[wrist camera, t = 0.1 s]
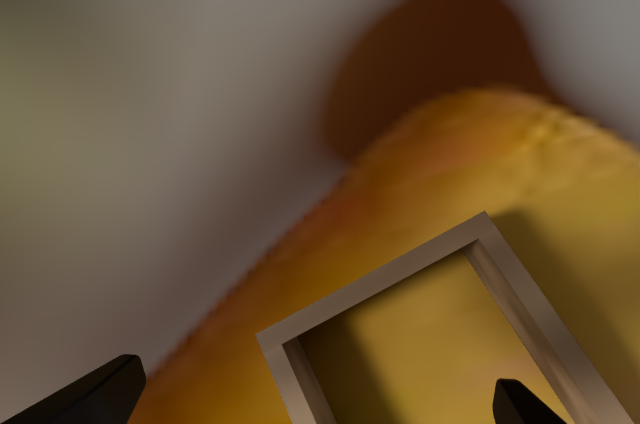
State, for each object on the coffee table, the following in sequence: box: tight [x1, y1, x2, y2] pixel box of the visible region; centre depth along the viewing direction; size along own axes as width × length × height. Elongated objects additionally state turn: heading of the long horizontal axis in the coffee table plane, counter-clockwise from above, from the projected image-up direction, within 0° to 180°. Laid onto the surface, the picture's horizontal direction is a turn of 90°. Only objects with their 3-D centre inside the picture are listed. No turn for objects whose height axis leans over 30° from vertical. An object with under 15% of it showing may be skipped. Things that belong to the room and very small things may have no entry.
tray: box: [255, 211, 634, 424], centre depth 19 cm, size 16×15×4 cm
